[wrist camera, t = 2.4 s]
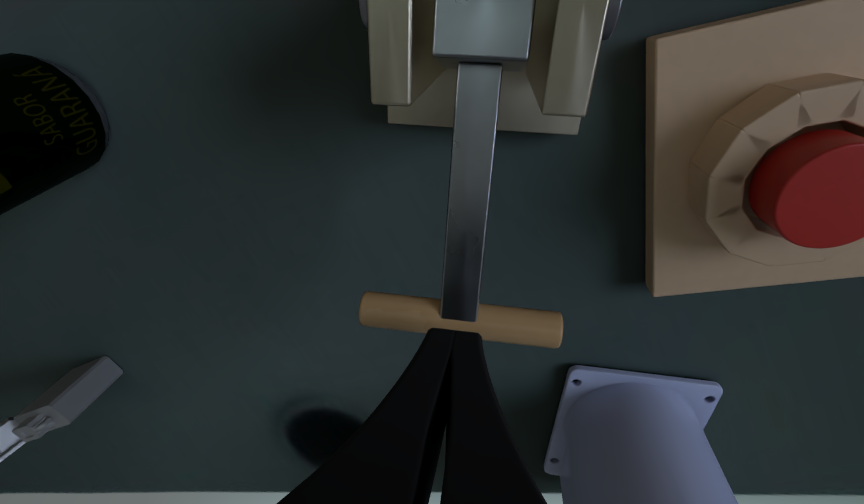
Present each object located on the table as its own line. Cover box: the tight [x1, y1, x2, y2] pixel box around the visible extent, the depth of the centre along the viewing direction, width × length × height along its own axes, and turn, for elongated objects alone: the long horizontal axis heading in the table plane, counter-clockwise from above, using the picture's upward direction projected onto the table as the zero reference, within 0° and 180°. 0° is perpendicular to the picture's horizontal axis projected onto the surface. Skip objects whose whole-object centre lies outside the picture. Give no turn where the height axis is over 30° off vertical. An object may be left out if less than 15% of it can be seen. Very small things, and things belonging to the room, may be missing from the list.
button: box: [749, 129, 864, 249], centre depth 14 cm, size 4×4×2 cm
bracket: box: [358, 0, 623, 135], centre depth 12 cm, size 9×8×8 cm
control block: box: [646, 0, 864, 297], centre depth 16 cm, size 11×9×3 cm
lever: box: [359, 0, 563, 349], centre depth 11 cm, size 10×6×2 cm, turn 177°
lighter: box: [0, 356, 123, 462], centre depth 27 cm, size 7×2×8 cm, turn 118°
